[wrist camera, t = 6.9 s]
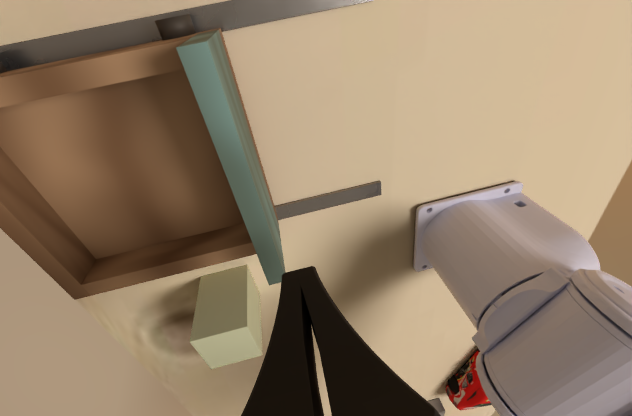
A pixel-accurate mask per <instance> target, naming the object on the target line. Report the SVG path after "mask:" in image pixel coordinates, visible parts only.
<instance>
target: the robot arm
mask: <svg viewBox="0 0 632 416" xmlns="http://www.w3.org/2000/svg"><path fill="white" fill-rule="evenodd" d="M522 188H523V184H522V183H521V182H519V181H515V182H511V183H507V184H503V185H499V186H495V187H491V188H487V189H483V190H479V191H475V192H471V193H467V194H463V195H459V196H455V197H451V198H447V199H443V200H439V201H435V202H431V203H427V204H423V205H420V206H419V207H418V208H417V210H416V225H415V245H414V265H413V267H414V269H415V271H423V270H426V269H430V268H434V269H435V271H436V272H437V274H438V275H439V276H440V278H441V279H442V281H443V282H444V283H445V285H446V286H447V288H448V289H449V291H450V292H451V293H452V295H453V296H454V298H455V299H456V301H457V302H458V303H459V305H460V306H461V308H462V309H463V311H464V312H465V313H466V315H467V316H468V318H469V319H470V321H471V322H472V323H473V325H474V326H475V328H476V329H477V333H476V334H475V335H474V336H473V337H472V340H473V341H474V343H475V344H476V346H477V347H478V349H479V350H480V352H479V354H478V355H477V358H476V369H477V374H478V376H479V379H480V383H481V385H482V388H483V390H484V392H485V394H486V396H487V398H488V399H489V401H490V403H491V404H492V405H493V407H494V408H495V410H496V411H497V412H498V414H499V415H500V416H632V287H631V286H630V285H628V284H626V283H625V282H623V281H621V280H619V279H617V278H616V277H614V276H612V275H610V274H608V273H606V272H603V271H600V264H599V260H598V258H597V256H596V254H595V252H594V250H593V249H592V247H591V246H590V244H589V243H588V242H587V240H586V239H585V238H584V237H583V236H582V235H581V234H580V233H578V232H577V231H576V230H574V229H573V228H572V227H570V226H569V225H567V224H566V223H564V222H563V221H561V220H560V219H559V218H557V217H556V216H554V215H553V214H551V213H550V212H549V211H547V210H546V209H544V208H543V207H541V206H540V205H538V204H537V203H536V202H534V201H533V200H531V199H530V198H528V197H527V196H526V195H524V194H523V193H521V191H522ZM428 208H430V209H429V210H427V209H428ZM311 325H312V328H313V332H314V335H315V338H316V342H317V345H318V348H319V352H320V356H321V361H322V366H323V372H324V377H325V382H326V387H327V392H328V397H329V402H330V408H331V413H332V416H441V415H440V414H439V413H438V411H437V410H436V409H435V407H434V406H432V405H431V404H430V403H429V402H428V401H426V400H425V399H424V398H423V397H422V396H420V395H419V394H418V393H417V392H416V391H415V390H413V389H412V388H411V387H410V386H409V385H408V384H407V383H405V382H404V381H403V380H402V379H401V378H400V377H399V376H398V375H397V374H396V373H395V372H394V371H393V370H392V369H390V368H389V367H388V366H387V365H386V364H385V363H384V362H383V361H382V360H381V359H380V358H379V357H378V356H377V355H376V354H375V353H374V351H373V350H372V349H371V348H370V347H369V346H368V345H367V344H366V343H365V342H364V341H363V339H362V338H361V337H360V336H359V335H358V334H357V332H356V331H355V330H354V329H353V328H352V326H351V325H350V324H349V323H348V321H347V320H346V319H345V317H344V316H343V315H342V313H341V312H340V311H339V309H338V308H337V306H336V305H335V303H334V302H333V300H332V299H331V297H330V296H329V294H328V292H327V291H326V289H325V287H324V286H323V284H322V282H321V280H320V278H319V276H318V273H317V271H316V268H315V267H313V266H311V267H307V268H303V269H299V270H295V271H291V272H287V273H284V274H283V275H282V282H281V292H280V299H279V305H278V310H277V315H276V319H275V324H274V327H273V331H272V335H271V339H270V342H269V346H268V349H267V352H266V355H265V358H264V361H263V364H262V367H261V370H260V372H259V375H258V377H257V380H256V383H255V385H254V388H253V390H252V393H251V395H250V397H249V400H248V402H247V404H246V406H245V408H244V411H243V413H242V415H241V416H324V413H323V408H322V403H321V398H320V393H319V387H318V380H317V372H316V363H315V354H314V345H313V336H312V328H311Z"/></svg>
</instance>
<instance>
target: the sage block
mask: <svg viewBox="0 0 632 416" xmlns="http://www.w3.org/2000/svg"><path fill="white" fill-rule="evenodd" d="M190 343H191V344H192V345H193V347H194V348H195V349H196V350H197V352H198V353H199V354H200V356H201V357H202V358H203V359H204V361H205V362H206V363H207V365H208V366H209V367H210V368H211V369H215V368H218V367H222V366H226V365H229V364H233V363H237V362H240V361H244V360H248V359H251V358H255V357H259V356H262V355H263V353H262V330H261V307H260V293H259V290H258V288H257V286H256V284H255V281H254V279H253V277H252V274H251V272H250V270H249V268H248V265H244V266H240V267H236V268H232V269H228V270H224V271H220V272H216V273H212V274H208V275H204V276H201V278H200V284H199V290H198V296H197V302H196V308H195V314H194V320H193V325H192V331H191V337H190Z"/></svg>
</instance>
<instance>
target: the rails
mask: <svg viewBox="0 0 632 416" xmlns="http://www.w3.org/2000/svg"><path fill="white" fill-rule="evenodd" d="M368 1H373V0H231V1H226V2H221V3H216V4H211V5H205V6H200V7H195V8H190V9H185V10H180V11H175V12H170V13H165V14H160V15H155V16H150V17H145V18H140V19H135V20H130V21H125V22H120V23H115V24H110V25H105V26H100V27H95V28H90V29H85V30H79V31H74V32H69V33H64V34H59V35H54V36H49V37H44V38H39V39H34V40H29V41H24V42H19V43H14V44H9V45H4V46H0V61H1V62H2V63H3V65H4V66H5V68H6V69H7V70H8V71H11V70H16V69H21V68H26V67H31V66H36V65H41V64H46V63H51V62H56V61H61V60H66V59H70V58H75V57H80V56H85V55H90V54H95V53H100V52H105V51H110V50H115V49H120V48H124V47H129V46H134V45H139V44H144V43H149V42H154V41H159V40H162V38H161V36H160V33H159V31H158V28H157V26H156V23H155V21H156V20H161V19H166V18H171V17H176V16H181V15H186V14H189V15H190V17H191V20H192V23H193V26H194V29H195V32H196V33H198V32H203V31H208V30H213V29H218V28H221V31H226V30H231V29H236V28H241V27H246V26H251V25H256V24H260V23H265V22H270V21H275V20H280V19H285V18H290V17H295V16H300V15H305V14H309V13H314V12H319V11H324V10H329V9H334V8H339V7H344V6H349V5H353V4H358V3H363V2H368ZM378 195H381V181H377V182H372V183H368V184H364V185H360V186H356V187H352V188H348V189H344V190H339V191H335V192H331V193H327V194H323V195H319V196H315V197H311V198H307V199H302V200H298V201H294V202H290V203H286V204H282V205H278V206H274V207H275V210H276V214H277V217H278V220H281V219H285V218H289V217H293V216H297V215H301V214H305V213H309V212H313V211H317V210H321V209H325V208H329V207H333V206H338V205H342V204H346V203H350V202H354V201H358V200H362V199H366V198H370V197H374V196H378Z"/></svg>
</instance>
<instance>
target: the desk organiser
mask: <svg viewBox="0 0 632 416" xmlns="http://www.w3.org/2000/svg"><path fill="white" fill-rule="evenodd" d="M428 402H429V403H430V404H431V405H432V406H434V407H435V409H436V410H437V411H438V413H439V414H440V415H441V416H444V414H445V409H444V407H443V405H442V403H441V401H440V399H439V398H437V399H434V400H430V401H428Z"/></svg>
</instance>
